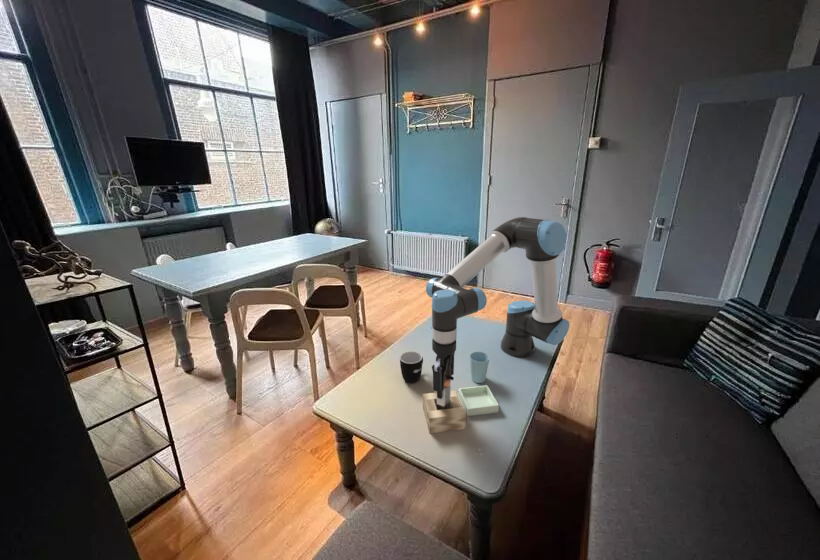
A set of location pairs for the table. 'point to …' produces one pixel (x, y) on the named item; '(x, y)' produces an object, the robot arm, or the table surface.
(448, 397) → the peg
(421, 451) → the table surface
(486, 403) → the tray
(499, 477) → the table surface
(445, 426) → the eye block
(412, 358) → the mug
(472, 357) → the cup
